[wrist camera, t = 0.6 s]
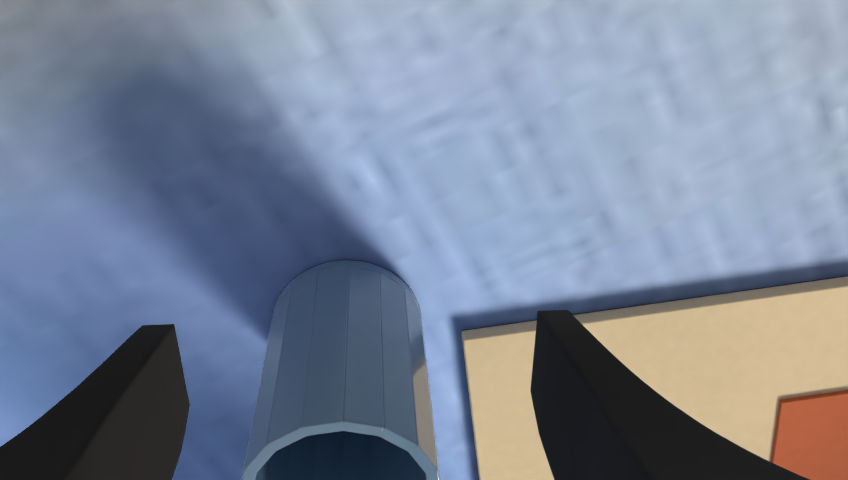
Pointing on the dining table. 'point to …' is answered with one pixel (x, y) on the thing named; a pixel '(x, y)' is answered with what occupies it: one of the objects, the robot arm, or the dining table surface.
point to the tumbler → (344, 382)
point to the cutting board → (691, 375)
